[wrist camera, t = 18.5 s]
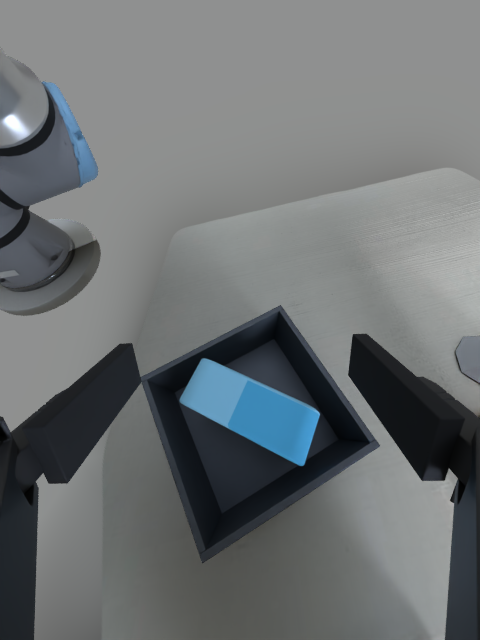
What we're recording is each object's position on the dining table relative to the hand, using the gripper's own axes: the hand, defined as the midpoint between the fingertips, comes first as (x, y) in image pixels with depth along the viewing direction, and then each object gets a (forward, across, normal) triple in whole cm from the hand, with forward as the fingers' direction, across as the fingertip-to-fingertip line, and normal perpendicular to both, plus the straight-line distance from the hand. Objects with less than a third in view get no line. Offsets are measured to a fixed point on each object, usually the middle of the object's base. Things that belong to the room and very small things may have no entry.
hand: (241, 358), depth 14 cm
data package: (+12, 0, -15) cm, 20 cm away
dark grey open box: (+13, 0, -16) cm, 20 cm away
